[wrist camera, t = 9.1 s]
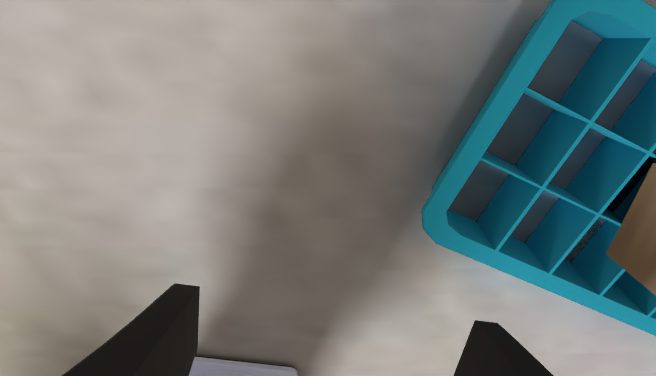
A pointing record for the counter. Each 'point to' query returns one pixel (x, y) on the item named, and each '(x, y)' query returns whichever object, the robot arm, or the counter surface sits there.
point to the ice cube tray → (549, 155)
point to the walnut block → (639, 235)
